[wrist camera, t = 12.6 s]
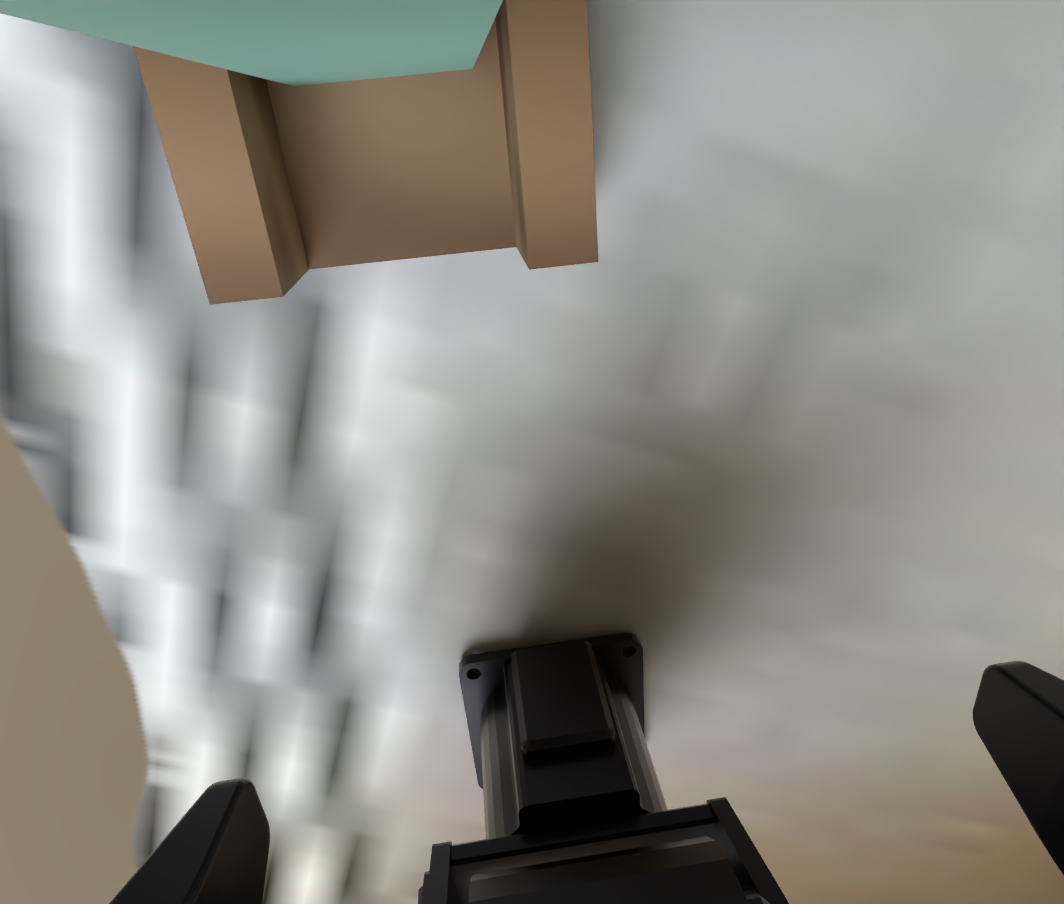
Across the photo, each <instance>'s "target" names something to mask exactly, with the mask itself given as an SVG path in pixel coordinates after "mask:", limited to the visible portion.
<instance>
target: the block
mask: <svg viewBox="0 0 1064 904" xmlns="http://www.w3.org/2000/svg"><path fill="white" fill-rule="evenodd" d="M502 1H503V0H0V13H2V14H6V15H10V16H14V17H18V18H22V19H26V20H30V21H34V22H38V23H42V24H47V25H51V26H55V27H59V28H63V29H67V30H71V31H75V32H79V33H83V34H87V35H91V36H95V37H99V38H103V39H107V40H111V41H115V42H119V43H123V44H127V45H131V46H135V47H139V48H143V49H147V50H151V51H155V52H159V53H163V54H167V55H171V56H175V57H179V58H183V59H187V60H191V61H195V62H199V63H203V64H207V65H211V66H215V67H219V68H223V69H227V70H231V71H235V72H239V73H243V74H247V75H251V76H255V77H259V78H263V79H267V80H271V81H275V82H279V83H283V84H287V85H291V86H302V85H313V84H323V83H333V82H344V81H354V80H364V79H374V78H385V77H395V76H405V75H416V74H426V73H436V72H447V71H457V70H467V69H473V67H474V64H475V62H476V60H477V58H478V55H479V53H480V51H481V49H482V46H483V44H484V42H485V40H486V37H487V35H488V33H489V31H490V28H491V26H492V24H493V22H494V19H495V17H496V15H497V13H498V10H499V8H500V6H501V4H502Z"/></svg>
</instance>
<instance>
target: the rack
mask: <svg viewBox="0 0 1064 904" xmlns="http://www.w3.org/2000/svg"><path fill="white" fill-rule="evenodd" d="M133 47H134V50H135V54H136V57H137V60H138V64H139V67H140V70H141V74H142V77H143V81H144V84H145V87H146V91H147V94H148V97H149V101H150V104H151V107H152V111H153V114H154V118H155V121H156V124H157V128H158V131H159V134H160V138H161V141H162V145H163V148H164V151H165V155H166V158H167V161H168V165H169V168H170V171H171V175H172V178H173V182H174V185H175V188H176V192H177V195H178V198H179V202H180V205H181V209H182V212H183V215H184V219H185V222H186V225H187V229H188V232H189V235H190V239H191V242H192V246H193V249H194V252H195V256H196V259H197V262H198V266H199V269H200V273H201V276H202V279H203V283H204V286H205V289H206V293H207V296H208V299H209V303H210V304H219V303H228V302H238V301H247V300H256V299H265V298H274V297H283V296H284V295H285V294H286V293H287V292H288V291H289V290H290V289H291V288H292V287H293V286H294V285H295V284H296V282H297V281H298V280H299V279H300V278H301V277H302V276H303V275H304V274H305V273H306V272H307V271H308V270H309V269H316V268H325V267H334V266H344V265H353V264H362V263H372V262H381V261H390V260H399V259H409V258H418V257H427V256H436V255H446V254H455V253H464V252H473V251H483V250H492V249H501V248H510V247H517V248H518V250H519V252H520V254H521V256H522V257H523V259H524V261H525V263H526V264H527V266H528V268H529V269H537V268H546V267H555V266H564V265H574V264H583V263H592V262H598V244H597V221H596V197H595V173H594V150H593V126H592V103H591V79H590V56H589V32H588V9H587V0H503V1H502V4H501V6H500V8H499V10H498V13H497V15H496V17H495V19H494V22H493V24H492V26H491V28H490V31H489V33H488V35H487V37H486V40H485V42H484V44H483V46H482V49H481V51H480V53H479V55H478V58H477V60H476V62H475V64H474V67H473V69H467V70H457V71H447V72H436V73H426V74H416V75H405V76H395V77H385V78H374V79H364V80H354V81H344V82H333V83H323V84H313V85H302V86H291V85H287V84H283V83H279V82H275V81H271V80H267V79H263V78H259V77H255V76H251V75H247V74H243V73H239V72H235V71H231V70H227V69H223V68H219V67H215V66H211V65H207V64H203V63H199V62H195V61H191V60H187V59H183V58H179V57H175V56H171V55H167V54H163V53H159V52H155V51H151V50H147V49H143V48H139V47H135V46H133Z"/></svg>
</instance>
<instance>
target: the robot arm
mask: <svg viewBox="0 0 1064 904" xmlns="http://www.w3.org/2000/svg"><path fill="white" fill-rule="evenodd" d="M626 646H631V647H630V648H628V649H623V648H624V647H626ZM472 668H474V669H478V670H477V671H469V670H470V669H472ZM459 677H460V683H461V689H462V694H463V700H464V706H465V711H466V717H467V723H468V728H469V734H470V739H471V745H472V751H473V756H474V762H475V768H476V773H477V779H478V784H479V786H480V787H481V788H482V789H483V793H484V812H485V831H486V839H485V840H479V841H473V842H467V843H460V844H454V845H452V842H445V843H439V844H433V845H432V854H431V863H430V871H429V872H425V874H424V883H423V886H422V887H421V888H420V889H419V896H418V904H789V903H788V901H787V899H786V898H785V896H784V894H783V893H782V891H781V889H780V887H779V886H778V884H777V882H776V881H775V879H774V877H773V876H772V874H771V872H770V871H769V869H768V867H767V866H766V864H765V862H764V861H763V859H762V857H761V856H760V854H759V852H758V851H757V849H756V847H755V846H754V844H753V842H752V841H751V839H750V837H749V836H748V834H747V832H746V831H745V829H744V827H743V825H742V824H741V822H740V820H739V819H738V817H737V815H736V814H735V812H734V810H733V809H732V807H731V805H730V804H729V802H728V800H727V799H726V798H725V797H724V798H717V799H711V800H707V804H701V805H695V806H689V807H683V808H677V809H670V810H667V807H666V804H665V800H664V797H663V794H662V791H661V788H660V785H659V782H658V779H657V775H656V772H655V769H654V766H653V763H652V760H651V757H650V754H649V751H648V747H647V744H646V741H645V738H644V696H643V649H642V645H641V643H640V640H639V638H638V637H637V635H635V634H633V633H621V634H614V635H607V636H600V637H593V638H586V639H579V640H572V641H565V642H558V643H552V644H545V645H538V646H531V647H524V648H517V649H510V650H503V651H496V652H489V653H482V654H475V655H470V656H467V657H465V658H464V659H462V660H461V662H460V664H459ZM973 721H974V725H975V728H976V730H977V732H978V734H979V736H980V738H981V740H982V741H983V743H984V745H985V746H986V748H987V750H988V752H989V753H990V755H991V757H992V758H993V760H994V762H995V763H996V765H997V767H998V769H999V770H1000V772H1001V774H1002V775H1003V777H1004V779H1005V780H1006V782H1007V784H1008V786H1009V787H1010V789H1011V791H1012V792H1013V794H1014V796H1015V798H1016V799H1017V801H1018V803H1019V804H1020V806H1021V808H1022V809H1023V811H1024V813H1025V815H1026V816H1027V818H1028V820H1029V821H1030V823H1031V825H1032V826H1033V828H1034V830H1035V832H1036V833H1037V835H1038V837H1039V838H1040V840H1041V841H1042V843H1043V845H1044V846H1045V848H1046V849H1047V851H1048V853H1049V854H1050V856H1051V857H1052V859H1053V860H1054V862H1055V863H1056V865H1057V866H1058V868H1059V869H1060V870H1061V872H1062V873H1063V875H1064V680H1062V679H1060V678H1058V677H1056V676H1054V675H1052V674H1050V673H1047V672H1045V671H1043V670H1041V669H1039V668H1037V667H1035V666H1033V665H1031V664H1028V663H1026V662H1022V661H1013V662H1006V663H999V664H993V665H990V666H988V667H987V668H986V669H985V670H984V673H983V675H982V679H981V683H980V686H979V690H978V693H977V697H976V701H975V704H974V708H973ZM269 845H270V829H269V824H268V820H267V818H266V815H265V812H264V810H263V807H262V805H261V802H260V800H259V797H258V795H257V792H256V789H255V787H254V785H253V783H252V782H251V781H250V780H249V779H247V778H240V779H233V780H227V781H220V782H216V783H214V784H212V785H211V786H210V787H208V788H207V789H206V790H205V792H204V793H203V794H202V795H201V796H200V797H199V799H198V800H197V801H196V802H195V803H194V804H193V806H192V807H191V808H190V809H189V810H188V812H187V813H186V814H185V815H184V816H183V817H182V819H181V820H180V821H179V822H178V823H177V824H176V826H175V827H174V828H173V829H172V830H171V832H170V833H169V834H168V835H167V836H166V837H165V839H164V840H163V841H162V842H161V843H160V845H159V846H158V847H157V848H156V849H155V850H154V852H153V853H152V854H151V855H150V856H149V857H148V859H147V860H146V861H145V862H144V863H143V865H142V866H141V867H140V868H139V869H138V870H137V872H136V873H135V874H134V876H132V878H131V879H130V880H129V881H128V882H127V884H126V885H125V886H124V887H123V888H122V889H121V891H120V892H119V893H118V894H117V895H116V896H115V898H114V899H113V900H112V901H111V902H110V903H109V904H262V903H263V895H264V887H265V878H266V870H267V862H268V854H269Z"/></svg>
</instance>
